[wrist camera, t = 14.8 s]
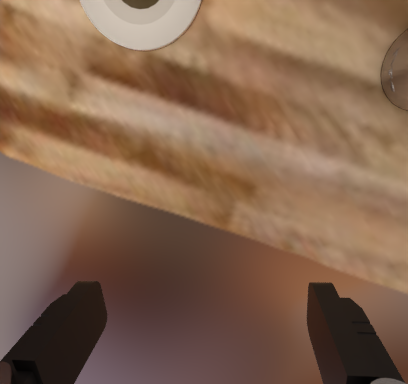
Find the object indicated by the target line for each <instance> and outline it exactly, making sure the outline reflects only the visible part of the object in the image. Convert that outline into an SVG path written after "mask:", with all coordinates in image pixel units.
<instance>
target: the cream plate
mask: <svg viewBox="0 0 408 384" xmlns="http://www.w3.org/2000/svg"><path fill="white" fill-rule="evenodd" d="M80 2H81V5H82V7H83V9H84V11H85V13H86V15H87V16H88V18H89V19H90V21H91V22H92V23H93V25H94V26H95V27H96V28H97V29H98V30H99V31H100V32H101V33H102V34H103V35H104V36H106V37H107V38H108V39H109V40H111V41H113V42H115V43H116V44H118V45H121V46H123V47H126V48H129V49H133V50H138V51H151V50H156V49H160V48H163V47H165V46H167V45H169V44H171V43H173V42H174V41H176V40H177V39H178V38H180V37H181V36H182V35H183V34H184V33H185V32H186V31H187V29H188V28H189V27H190V25H191V24H192V22H193V21H194V19H195V17H196V15H197V13H198V11H199V8H200V5H201V2H202V0H159V1H158V2H157V3H156V4H155V5H153V6H151V7H150V8H146V9H136V8H132V7H130V6H128V5H127V4H125V3H124V2H123V1H122V0H80Z"/></svg>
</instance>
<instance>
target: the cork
mask: <svg viewBox="0 0 408 384" xmlns="http://www.w3.org/2000/svg"><path fill="white" fill-rule="evenodd" d="M122 1H123V2H124V3H125V4H127V5H128V6H130V7H132V8H136V9H146V8H150V7H151V6H153V5H155V4H156V3H157V2H158V1H159V0H122Z"/></svg>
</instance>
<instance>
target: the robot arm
mask: <svg viewBox="0 0 408 384" xmlns="http://www.w3.org/2000/svg"><path fill="white" fill-rule="evenodd" d="M381 81H382V86H383V90H384V92H385V94H386V96H387V97H388V99H389V100H390V101H391V102H392V103H393V104H395V105H396V106H398V107H399V108H402V109H405V110H408V30H406V31H405V32H404V33H403V34H401V35H400V36H399V37H398V38H397V40H396V41H395V42H394V43H393V44H392V46H391V48H390V49H389V51H388V52H387V55H386V57H385V59H384V62H383V66H382V71H381ZM106 322H107V310H106V306H105V302H104V298H103V294H102V289H101V285H100V283H99V282H98V281H78V282H77V283H76V284H75V285H74V286H73V287H72V288H71V289H70V291H69V292H68V293H67V294H64V295H62V296H61V297H59V298H58V299H57V300H55V301H54V302H52V303H51V304H50V305H49V306H48V307H47V308H46V310H45V311H44V312H43V313H42V314H41V317H39V318H38V319H37V320H36V321H35V322H34V324H33V326H31V327H30V328H29V329H28V330H27V331H26V332H25V334H24V335H23V336H22V337H21V338H20V339H19V340H18V342H17V343H16V344H15V345H14V346H13V347H12V348H11V350H10V351H9V352H8V353H7V354H6V355H5V356H4V358H3V359H2V360H1V361H0V384H74V383H75V381H76V379H77V377H78V375H79V374H80V372H81V370H82V368H83V367H84V365H85V363H86V361H87V359H88V357H89V356H90V354H91V352H92V350H93V348H94V347H95V345H96V343H97V341H98V340H99V338H100V336H101V334H102V332H103V331H104V328H105V326H106ZM307 326H308V332H309V336H310V340H311V343H312V347H313V350H314V354H315V357H316V360H317V364H318V367H319V370H320V374H321V377H322V381H323V384H406V383H405V382H404V380H403V379H402V377H401V375H400V373H399V372H398V370H397V368H396V366H395V365H394V363H393V361H392V360H391V358H390V356H389V354H388V353H387V351H386V349H385V347H384V346H383V344H382V342H381V341H380V339H379V337H378V336H377V335H376V332H375V330H374V328H373V326H372V325H371V324H370V321H369V319H368V318H367V316H366V314H365V313H364V311H363V309H362V308H361V307H360V306H358V305H357V304H356V303H355V302H354V301H353V300H351V299H350V298H340V297H339V295H338V294H337V291H336V289H335V287H334V285H333V284H332V283H309V287H308V303H307Z"/></svg>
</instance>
